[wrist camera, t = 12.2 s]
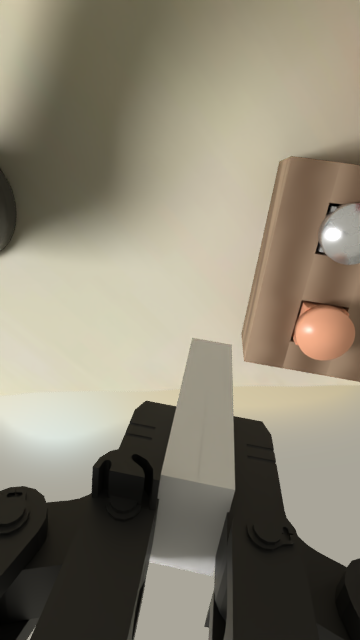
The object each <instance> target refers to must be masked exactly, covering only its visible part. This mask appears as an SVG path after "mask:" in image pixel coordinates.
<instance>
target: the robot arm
mask: <svg viewBox="0 0 360 640" xmlns="http://www.w3.org/2000/svg"><path fill="white" fill-rule="evenodd" d="M15 222H16V207H15V201H14V197H13V193H12V191H11V188H10V186H9V183H8V181H7V179H6V178H5V176H4V174H3V173H2V171H1V170H0V251H1V250H2V249H3V248H4V247H5V246H6V245H7V244H8V242H9V241H10V239H11V237H12V234H13V232H14V228H15ZM273 450H274V449H273V443H272V437H271V434H270V433H269V431H268V430H267V428H266V427H265V425H264V424H263V422H261V421H255V420H251V419H245V418H240V417H235V416H233V381H232V345H230V344H224V343H218V342H213V341H207V340H201V339H195V338H192V342H191V346H190V350H189V355H188V359H187V363H186V368H185V372H184V376H183V381H182V385H181V389H180V394H179V398H178V402H177V407H176V406H171V405H166V404H160V403H155V402H150V401H145V402H144V403H143V404H141V405H140V406H139V407H138V408H137V409H135V411H134V414H133V416H132V419H131V421H130V424H129V426H128V428H127V430H126V433H125V436H124V438H123V440H122V443H121V445H120V447H119V449H118V450H113V451H110V452H108V453H107V454H105V455H103V456H102V457H100V458H99V459H98V461H97V462H96V463H95V465H94V466H93V477H92V493H91V494H89V495H87V496H85V497H82V498H80V499H75V500H70V501H59V502H49V503H46V501H45V498H44V496H43V495H42V494H41V493H39V492H38V491H37V490H36V489H32V488H28V487H24V486H21V487H10V488H7V489H5V490H2V491H0V640H27V638H28V637H29V635H30V634H31V632H32V631H33V629H34V628H35V630H34V632H33V634H32V636H31V639H30V640H134V637H135V632H136V627H137V622H138V617H139V612H140V607H141V603H142V598H143V593H144V587H145V579H146V574H147V569H148V564H149V562H152V563H157V564H160V565H165V566H170V567H174V568H179V569H183V570H187V571H192V572H196V573H201V574H205V575H209V576H213V572H214V568H215V587H214V592H213V596H212V599H211V602H210V606H209V610H208V614H207V618H206V622H205V627H209V640H360V559H356V560H353V561H351V563H350V564H349V565H348V567H345V566H343V565H341V564H340V563H338V562H336V561H334V560H332V559H330V558H328V557H326V556H324V555H322V554H321V553H319V552H317V551H316V550H314V549H313V548H311V547H309V546H308V545H307V544H306V543H304V541H302V540H301V539H300V538H299V537H298V535H297V533H296V530H295V528H294V527H293V526H292V524H291V523H290V522H289V521H288V519H287V518H286V515H285V511H284V506H283V500H282V494H281V489H280V483H279V478H278V472H277V466H276V464H275V462H276V460H275V454H274V452H273ZM35 626H36V627H35Z"/></svg>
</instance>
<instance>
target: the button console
mask: <svg viewBox="0 0 360 640" xmlns="http://www.w3.org/2000/svg"><path fill="white" fill-rule="evenodd" d="M347 203H360V165H355V164H347V163H340V162H332V161H324V160H317V159H309V158H302V157H294V156H291V157H289V158H287V159H284V160H282V161H280V162H279V166H278V171H277V175H276V180H275V184H274V189H273V193H272V198H271V203H270V207H269V212H268V216H267V221H266V225H265V230H264V234H263V239H262V243H261V248H260V252H259V257H258V262H257V266H256V271H255V275H254V280H253V284H252V289H251V293H250V298H249V302H248V307H247V311H246V316H245V321H244V325H243V330H242V344H243V354H244V361H246V362H251V363H257V364H262V365H268V366H274V367H279V368H285V369H291V370H296V371H302V372H308V373H313V374H319V375H325V376H330V377H336V378H341V379H347V380H353V381H358V382H360V263H358V264H353V265H345V264H340V263H338V262H336V261H334V260H332V259H331V258H330V257H328V256H327V255H326V254H325V253H324V252H319V251H317V250H316V248H317V245H318V232H319V228H320V225H321V223H322V221H323V220H324V218H325V217H326V213H327V210H328V206H329V205H333V206H340V205H343V204H347ZM302 300H305V301H311V302H317V303H323V304H329V305H335V306H342V307H343V308H344V309H345V310H346V311H347V312H348V313H349V314H350V315H349V318H350V320H351V321H352V323H353V324H354V327H355V339H354V342H353V344H352V346H351V347H350V348H349V350H348V351H347V352H346V353H344V354H343V355H341V356H340V357H338V358H335V359H332V360H316V359H313V358H310V357H308V356H307V355H305V354H304V353H303V352H302V350H301V349H300V347H299V345H295V342H294V340H293V338H292V333H293V329H294V326H295V322H296V319H297V315H298V312H299V308H300V305H301V301H302Z"/></svg>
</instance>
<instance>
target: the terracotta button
mask: <svg viewBox="0 0 360 640" xmlns="http://www.w3.org/2000/svg"><path fill="white" fill-rule="evenodd" d="M349 315H350V314H349V313H348V312H347V311H346V310H345V309H344V308H343V307H342V306H335V305H329V304H323V303H317V302H311V301H305V300H302V301H301V305H300V308H299V312H298V315H297V319H296V322H295V326H294V329H293V333H292V338H293V340H294V342H295V345H299V347H300V349H301V350H302V352H303V353H304V354H305V355H307V356H308V357H310V358H313V359H316V360H332V359H335V358H338V357H340V356H341V355H343V354H344V353H346V352H347V351H348V350H349V348H350V347H351V346H352V344H353V342H354V339H355V327H354V324H353V323H352V321H351V320H350V318H349Z"/></svg>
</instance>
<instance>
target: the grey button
mask: <svg viewBox="0 0 360 640" xmlns="http://www.w3.org/2000/svg"><path fill="white" fill-rule="evenodd" d="M316 250H317V251H319V252H324V253H325V254H326V255H327V256H328V257H330V258H331V259H332V260H334V261H336V262H338V263H340V264H345V265H353V264H358V263H360V203H347V204H343V205H340V206H333V205H329V206H328V210H327V213H326V217H325V218H324V220H323V221H322V223H321V225H320V228H319V232H318V245H317V248H316Z"/></svg>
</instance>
